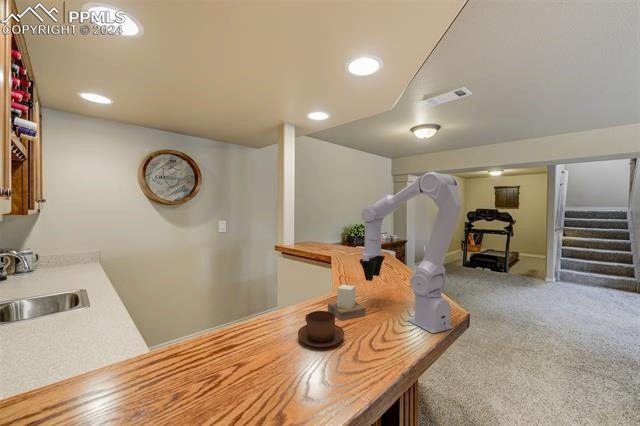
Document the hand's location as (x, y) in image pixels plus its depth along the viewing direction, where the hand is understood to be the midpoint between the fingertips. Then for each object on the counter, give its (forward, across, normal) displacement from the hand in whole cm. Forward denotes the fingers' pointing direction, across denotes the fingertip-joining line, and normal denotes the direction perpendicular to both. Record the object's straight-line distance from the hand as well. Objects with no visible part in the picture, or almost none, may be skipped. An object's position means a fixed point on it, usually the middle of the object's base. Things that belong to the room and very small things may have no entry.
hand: (372, 277), depth 94 cm
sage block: (+7, +12, -5) cm, 15 cm away
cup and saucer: (+10, +31, -3) cm, 33 cm away
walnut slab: (+10, +12, -5) cm, 16 cm away
